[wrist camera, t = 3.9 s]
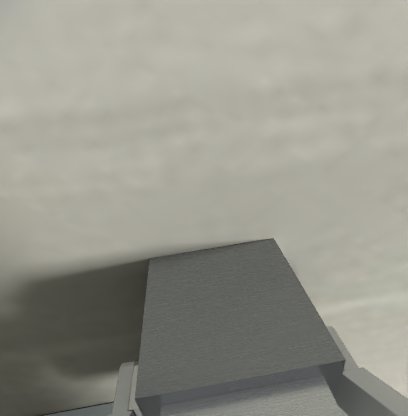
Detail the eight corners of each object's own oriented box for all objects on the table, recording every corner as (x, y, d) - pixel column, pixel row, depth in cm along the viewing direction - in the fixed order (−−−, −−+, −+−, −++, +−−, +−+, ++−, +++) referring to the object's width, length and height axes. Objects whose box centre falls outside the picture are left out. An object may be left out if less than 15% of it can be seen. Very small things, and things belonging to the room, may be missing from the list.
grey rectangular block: (273, 238, 11) (374, 407, 5) (272, 345, 14) (332, 514, 9) (149, 258, 10) (128, 455, 5) (178, 362, 14) (183, 545, 9)
